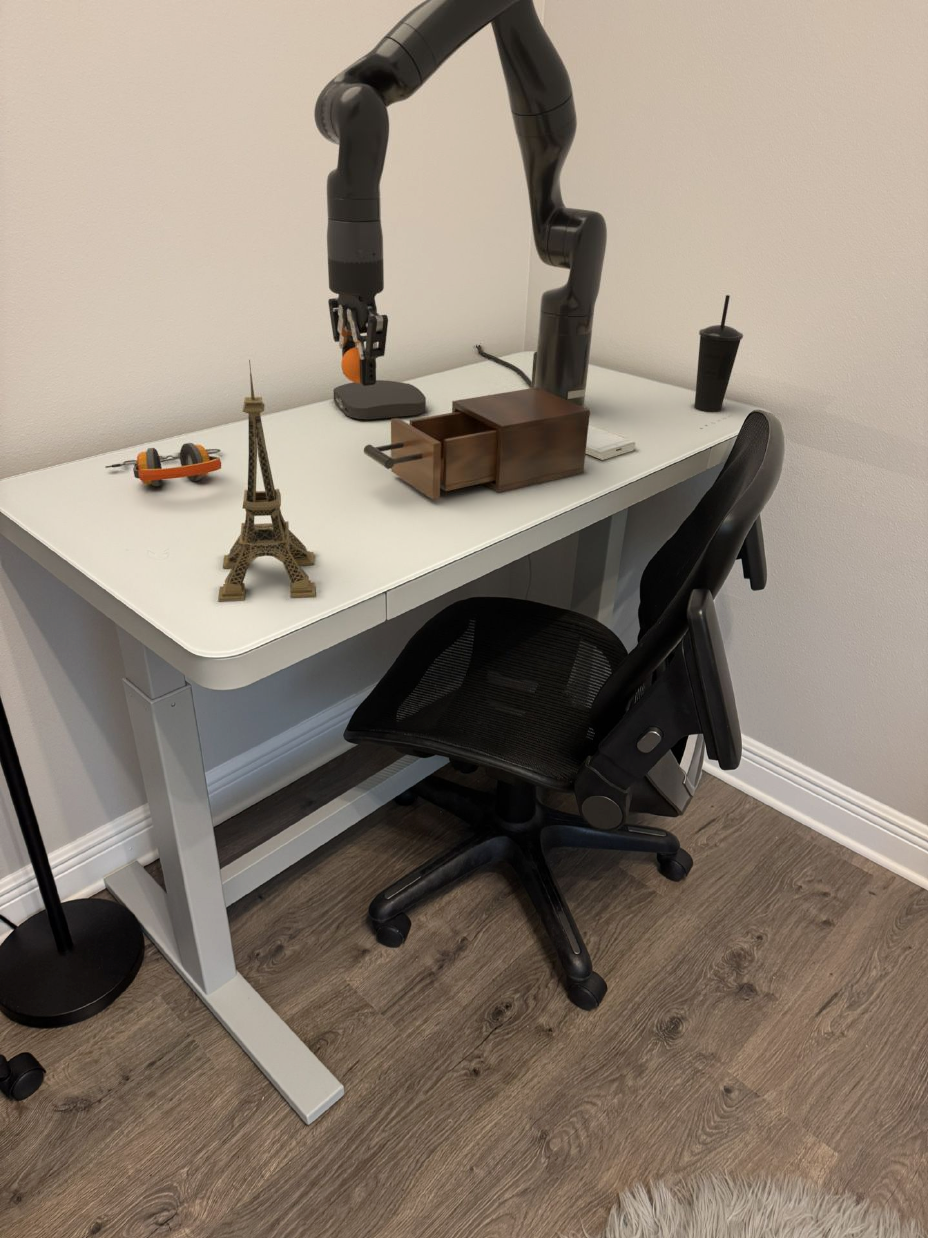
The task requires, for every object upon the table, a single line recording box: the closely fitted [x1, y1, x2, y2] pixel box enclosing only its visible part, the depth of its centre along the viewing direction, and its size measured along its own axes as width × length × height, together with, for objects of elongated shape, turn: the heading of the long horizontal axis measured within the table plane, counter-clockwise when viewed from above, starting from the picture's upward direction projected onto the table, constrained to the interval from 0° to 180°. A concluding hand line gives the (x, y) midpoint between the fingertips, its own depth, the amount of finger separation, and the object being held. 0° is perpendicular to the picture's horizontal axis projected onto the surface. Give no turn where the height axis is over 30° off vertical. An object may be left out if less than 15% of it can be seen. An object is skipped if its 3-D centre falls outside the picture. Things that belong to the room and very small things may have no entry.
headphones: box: [104, 442, 222, 487], centre depth 126 cm, size 17×5×20 cm
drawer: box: [363, 411, 498, 500], centre depth 126 cm, size 20×12×8 cm, turn 123°
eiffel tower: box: [217, 359, 316, 602], centre depth 97 cm, size 11×11×25 cm
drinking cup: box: [694, 294, 744, 413], centre depth 161 cm, size 8×8×20 cm
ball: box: [341, 346, 360, 383], centre depth 128 cm, size 5×5×5 cm
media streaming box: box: [333, 379, 427, 420], centre depth 159 cm, size 15×15×3 cm
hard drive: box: [585, 424, 636, 461], centre depth 146 cm, size 2×8×12 cm
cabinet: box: [451, 387, 591, 493], centre depth 133 cm, size 16×13×10 cm
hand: (359, 379), depth 129 cm, fingers closed on ball, 5 cm apart
